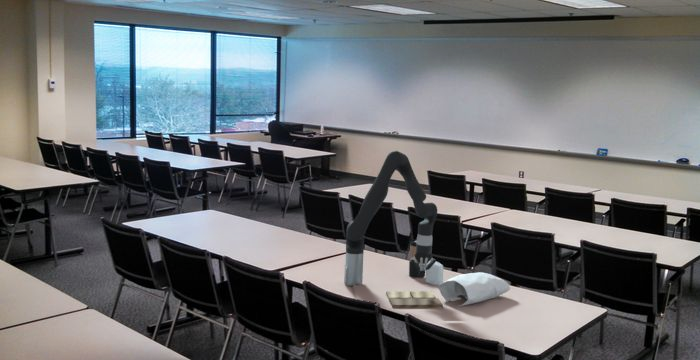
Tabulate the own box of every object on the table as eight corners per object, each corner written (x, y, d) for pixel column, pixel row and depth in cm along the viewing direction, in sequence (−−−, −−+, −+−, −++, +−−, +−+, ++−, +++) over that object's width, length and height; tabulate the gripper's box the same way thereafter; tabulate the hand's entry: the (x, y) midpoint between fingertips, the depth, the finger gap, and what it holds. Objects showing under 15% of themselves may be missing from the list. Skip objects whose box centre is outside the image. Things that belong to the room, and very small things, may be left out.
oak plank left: (388, 300, 307) (389, 297, 307) (386, 294, 316) (386, 291, 316) (411, 300, 308) (411, 297, 308) (407, 294, 317) (407, 291, 317)
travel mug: (423, 275, 354) (425, 240, 351) (420, 278, 347) (422, 243, 344) (410, 273, 356) (412, 238, 353) (407, 277, 349) (408, 241, 346)
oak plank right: (413, 300, 308) (413, 297, 308) (409, 294, 317) (409, 291, 317) (435, 300, 310) (435, 297, 309) (431, 294, 318) (431, 291, 318)
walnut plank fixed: (392, 307, 298) (392, 304, 297) (389, 301, 306) (389, 298, 306) (442, 307, 300) (442, 304, 300) (438, 301, 309) (438, 298, 309)
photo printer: (424, 282, 341) (425, 259, 339) (429, 280, 344) (430, 258, 342) (438, 287, 333) (439, 264, 332) (443, 286, 336) (445, 263, 334)
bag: (516, 293, 318) (476, 292, 294) (488, 313, 328) (447, 314, 303) (497, 261, 328) (457, 257, 304) (471, 282, 338) (430, 280, 313)
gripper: (412, 244, 306) (409, 279, 309) (439, 245, 308) (436, 280, 310) (409, 240, 314) (407, 274, 316) (435, 241, 315) (433, 275, 318)
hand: (421, 277), depth 313 cm, fingers closed
